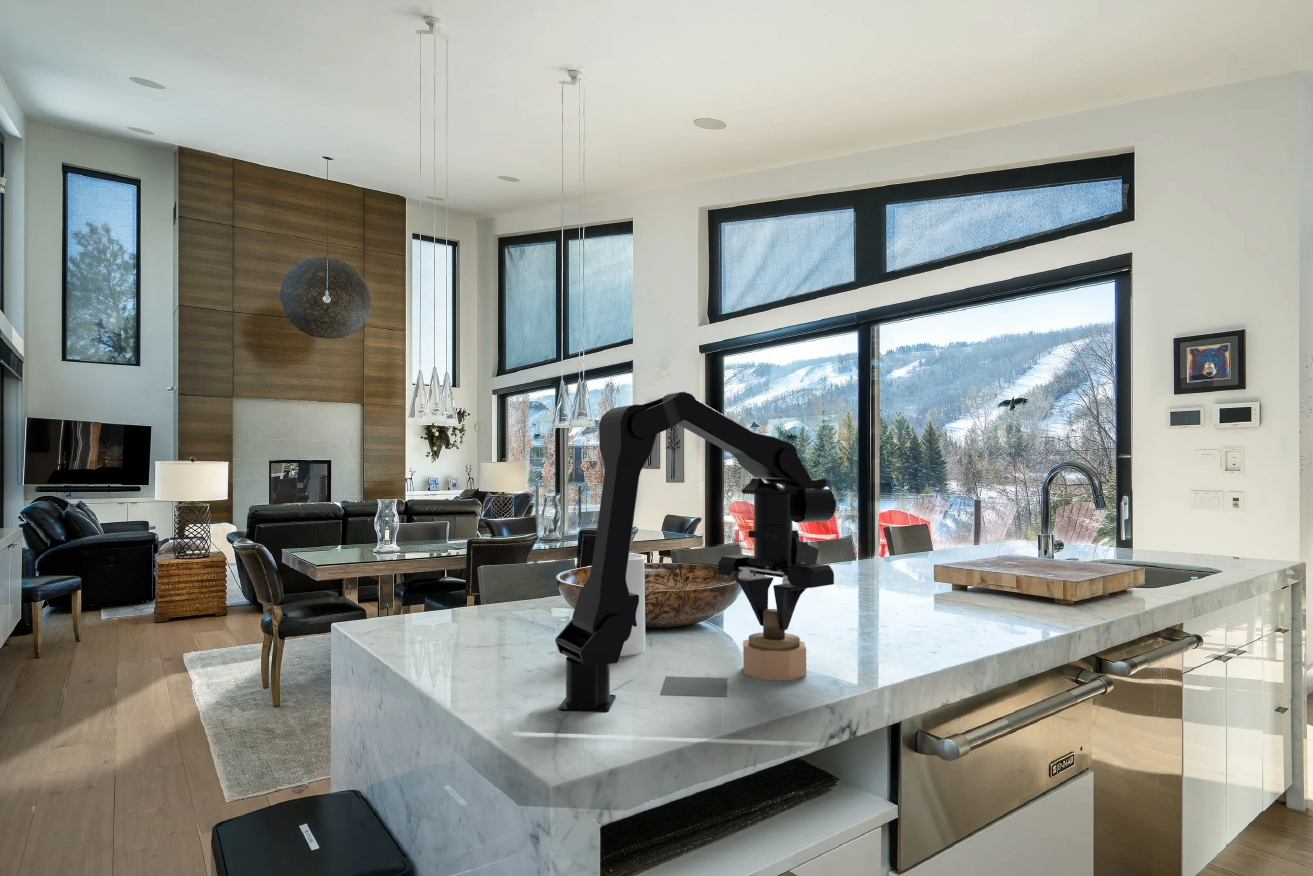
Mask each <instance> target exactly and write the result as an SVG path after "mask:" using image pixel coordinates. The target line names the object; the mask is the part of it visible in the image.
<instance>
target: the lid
mask: <svg viewBox="0 0 1313 876" xmlns="http://www.w3.org/2000/svg"><path fill="white" fill-rule="evenodd" d="M785 631H786V630H781V628H780V624H779V620H778V613H777V608H768V609H765V610H763V626H762V632H755V633H751V634H750V635H748V640H749V645H750V646H752V647H755V648H759V649H765V650H790V649H795V648H798V647H799V646H800V641H801V639H800V637H799V636H798V635H795V634H793V633H787V632H785Z"/></svg>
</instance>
